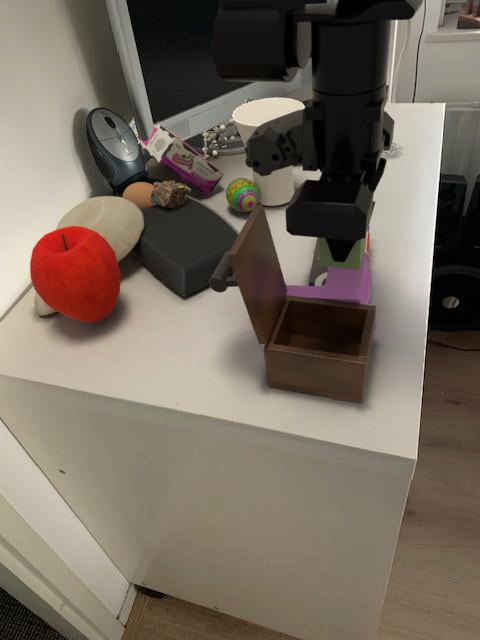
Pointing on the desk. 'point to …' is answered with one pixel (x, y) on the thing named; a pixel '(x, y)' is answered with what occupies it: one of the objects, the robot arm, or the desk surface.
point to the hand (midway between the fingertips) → (343, 248)
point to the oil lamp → (103, 227)
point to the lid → (254, 273)
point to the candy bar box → (180, 159)
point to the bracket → (339, 286)
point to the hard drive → (184, 243)
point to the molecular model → (220, 139)
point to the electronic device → (320, 272)
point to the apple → (76, 273)
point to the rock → (169, 194)
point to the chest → (321, 348)
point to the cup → (247, 119)
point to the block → (352, 259)
